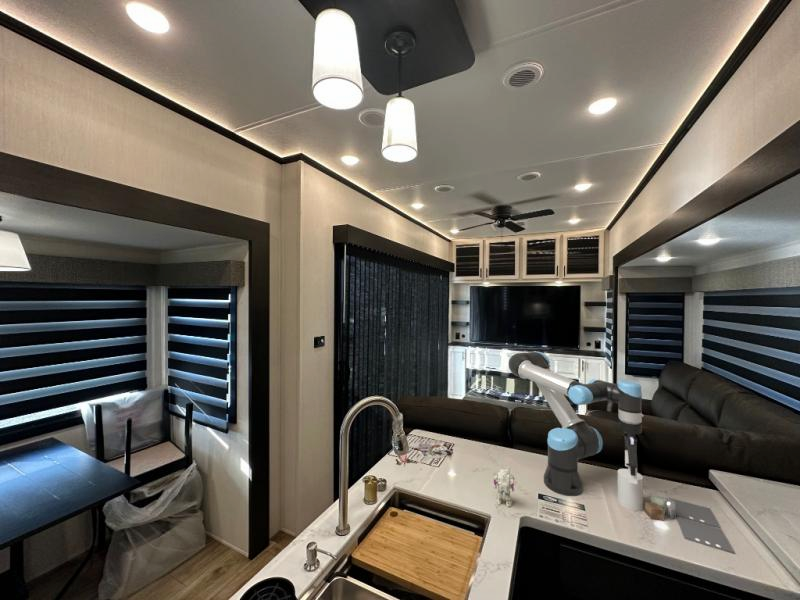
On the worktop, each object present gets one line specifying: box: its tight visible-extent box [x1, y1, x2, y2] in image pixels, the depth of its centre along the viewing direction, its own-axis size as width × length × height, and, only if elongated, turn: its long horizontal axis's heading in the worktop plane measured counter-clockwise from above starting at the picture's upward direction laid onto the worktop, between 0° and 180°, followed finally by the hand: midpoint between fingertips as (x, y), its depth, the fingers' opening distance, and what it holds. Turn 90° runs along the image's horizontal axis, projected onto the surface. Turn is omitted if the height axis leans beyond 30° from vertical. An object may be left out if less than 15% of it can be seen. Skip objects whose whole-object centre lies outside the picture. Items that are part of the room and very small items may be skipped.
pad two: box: [669, 497, 721, 529], centre depth 119 cm, size 12×12×1 cm
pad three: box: [676, 516, 735, 554], centre depth 108 cm, size 12×12×1 cm
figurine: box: [493, 465, 515, 508], centre depth 124 cm, size 8×8×15 cm
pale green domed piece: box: [650, 495, 665, 510], centre depth 123 cm, size 4×4×3 cm
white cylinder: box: [617, 468, 644, 512], centre depth 124 cm, size 8×8×12 cm
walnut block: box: [644, 501, 665, 522], centre depth 117 cm, size 4×4×4 cm
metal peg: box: [664, 497, 676, 520], centre depth 117 cm, size 3×3×6 cm
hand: (630, 474), depth 124 cm, fingers open, 13 cm apart
